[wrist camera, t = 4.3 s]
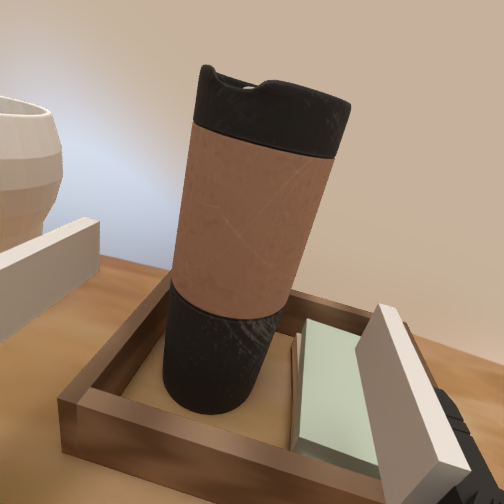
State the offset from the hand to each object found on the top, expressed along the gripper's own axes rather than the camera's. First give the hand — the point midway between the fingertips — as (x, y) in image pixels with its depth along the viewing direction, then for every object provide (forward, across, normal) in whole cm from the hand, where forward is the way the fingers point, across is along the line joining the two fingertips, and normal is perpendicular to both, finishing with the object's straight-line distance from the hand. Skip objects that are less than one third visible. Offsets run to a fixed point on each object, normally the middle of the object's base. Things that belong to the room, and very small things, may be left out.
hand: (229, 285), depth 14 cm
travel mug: (+5, 0, -12) cm, 13 cm away
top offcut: (+5, +10, -10) cm, 15 cm away
